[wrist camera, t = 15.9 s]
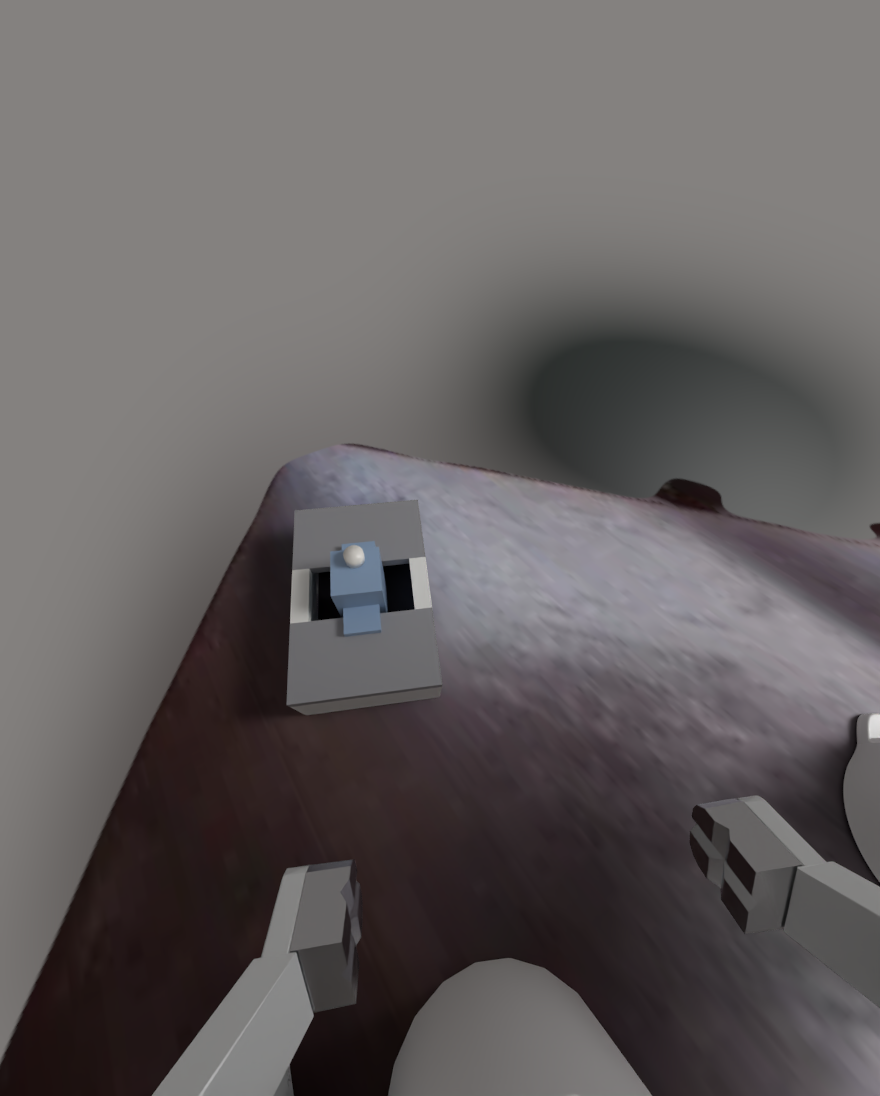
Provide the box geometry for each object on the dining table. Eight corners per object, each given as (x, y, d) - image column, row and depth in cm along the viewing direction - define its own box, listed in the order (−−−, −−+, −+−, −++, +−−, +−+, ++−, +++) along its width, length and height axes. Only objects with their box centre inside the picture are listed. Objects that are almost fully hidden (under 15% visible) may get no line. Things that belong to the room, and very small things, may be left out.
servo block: (384, 565, 42) (376, 517, 34) (391, 646, 38) (382, 612, 30) (345, 569, 42) (327, 522, 34) (347, 652, 38) (328, 619, 30)
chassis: (418, 531, 46) (417, 499, 41) (439, 697, 38) (442, 684, 32) (309, 541, 45) (294, 510, 40) (305, 715, 37) (286, 705, 31)
